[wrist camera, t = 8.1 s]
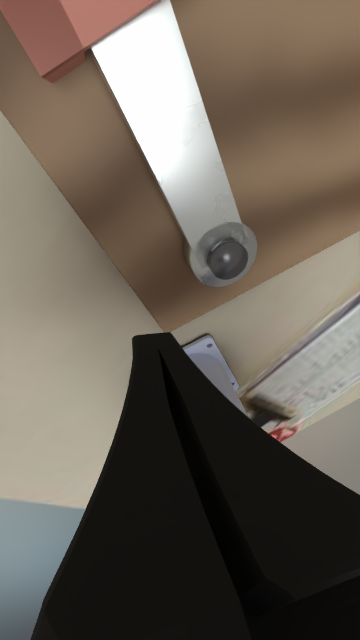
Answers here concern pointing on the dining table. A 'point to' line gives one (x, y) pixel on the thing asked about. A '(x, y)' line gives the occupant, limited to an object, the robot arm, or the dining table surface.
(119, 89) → the link
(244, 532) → the robot arm
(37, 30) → the keeper
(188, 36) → the board
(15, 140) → the dining table surface
